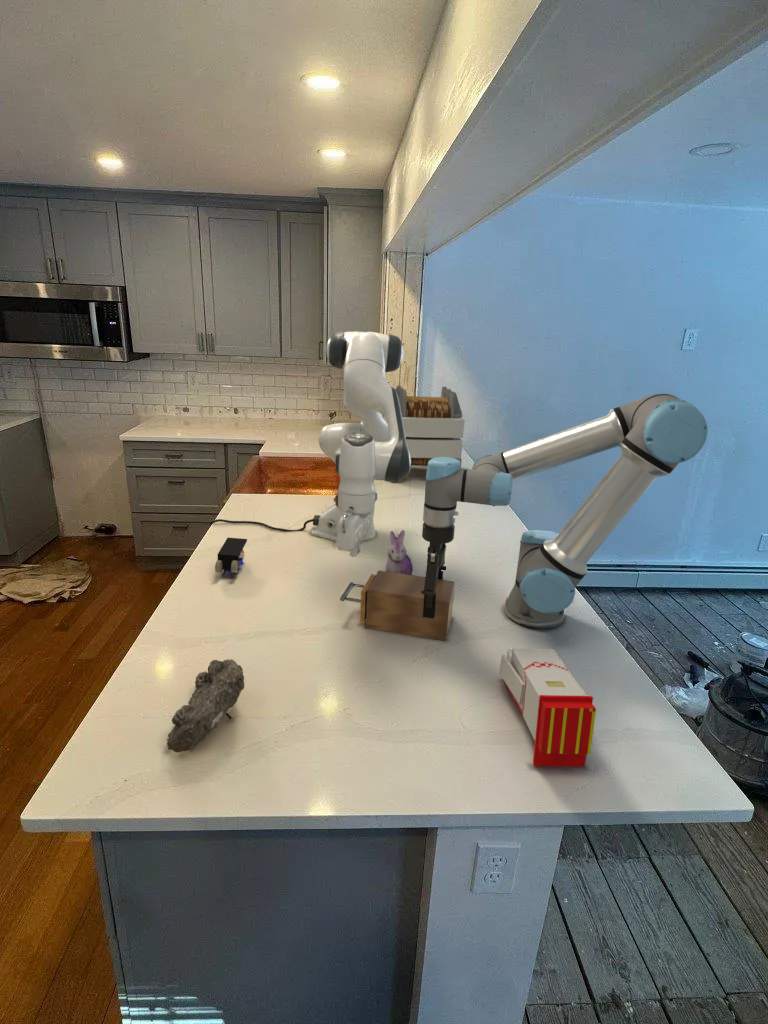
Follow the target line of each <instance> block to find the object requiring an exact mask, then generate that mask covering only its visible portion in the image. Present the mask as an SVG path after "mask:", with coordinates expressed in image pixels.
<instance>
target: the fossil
mask: <svg viewBox="0 0 768 1024" xmlns="http://www.w3.org/2000/svg"><path fill="white" fill-rule="evenodd" d="M243 670H244V669H243V667H242V665H240V664H237V662H236V661H235V660H234V659H232V658H231V659H227V658H226V659H224V660H223V661H222V660H217V659H212V660H211V661H210V663H209V665H208V666H207V671H201V672H199V673H198V674H197V675H196V676H195V680H194V684H195V685H194V687H195V689H194V690H193V693H192V694H191V697H190V698H189V700H188V704H184V705H182V706H181V707H180V709H177V710H176V711H175V713H174V715H173V716H172V718H171V723H172V724H173V727H172V730H171V731H170V732H168V734H167V738H166V741H167V742H166V745H167V749H168V750H169V751H173V752H174V753H176V754H178V753H182V752H188V751H189V752H192V751H193V750H195V748H196V747H197V746H199V744H200V743H201V742H203V741H204V740H205V739H206V738H207V737H208V736H209V735H210V734H211V733H212V732H214V730H215V729H217V727H218V726H219V724H220V722H221V721H222V720H223V719H224V718H225V716H226V717H227V719H229V720H233V717H232V715H230V714H229V710H230V709H231V708H234V706H235V704H236V703H237V702H238V699H239V697H240V695H241V693H242V691H243V690H245V689H244V688H245V675H244V671H243Z"/></svg>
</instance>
